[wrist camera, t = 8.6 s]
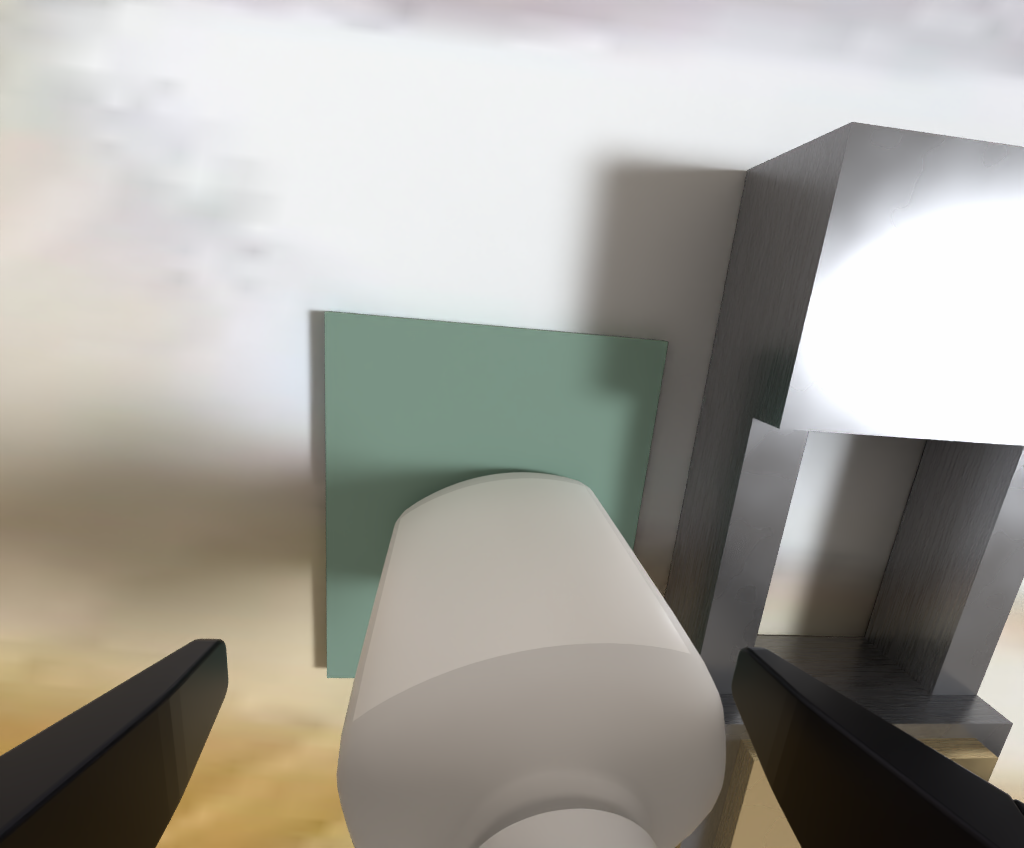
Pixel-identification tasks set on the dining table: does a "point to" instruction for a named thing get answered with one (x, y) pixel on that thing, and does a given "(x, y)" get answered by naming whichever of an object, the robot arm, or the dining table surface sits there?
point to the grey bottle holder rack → (865, 433)
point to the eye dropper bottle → (525, 683)
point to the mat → (467, 432)
